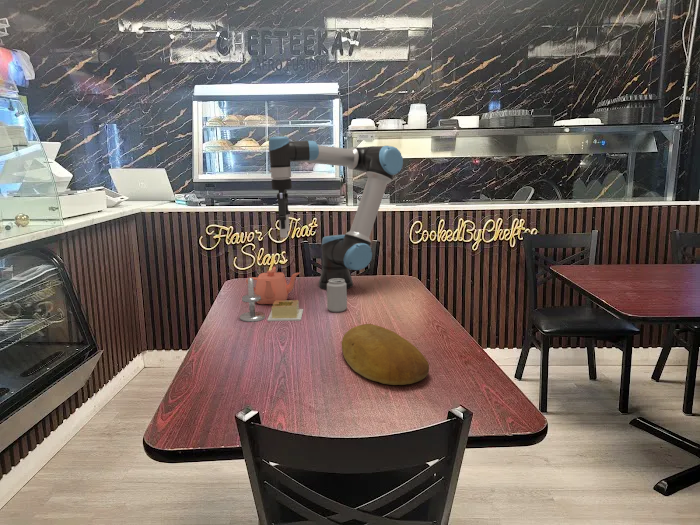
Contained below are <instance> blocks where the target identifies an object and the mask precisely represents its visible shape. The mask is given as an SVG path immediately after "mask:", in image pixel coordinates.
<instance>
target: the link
mask: <svg viewBox="0 0 700 525" xmlns="http://www.w3.org/2000/svg"><path fill="white" fill-rule="evenodd" d="M299 301H300V300H299V299H290V300H288V299H287V300H278V301H274V303H273V304H272V306H271V310H272V318H297V315H298V312H299V309H300V306H299V303H300V302H299Z"/></svg>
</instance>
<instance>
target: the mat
mask: <svg viewBox="0 0 700 525" xmlns="http://www.w3.org/2000/svg"><path fill="white" fill-rule="evenodd" d="M303 313H304V308H299V312H298V315H297V318H272V309H271V311H270V312H269V316H268V317H267V322H286V321H287V322H294V321H296V322H297V321H302V316H303Z"/></svg>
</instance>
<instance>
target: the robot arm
mask: <svg viewBox="0 0 700 525" xmlns="http://www.w3.org/2000/svg"><path fill="white" fill-rule="evenodd" d="M289 139H290V138H289V136H271V137H269V138H268V153H269V163H270V166H269V167H270V169H269V171H268V172H269V174H270V177H271V178H272V179H271V181H270V182H271V189H272V190H275V191H276V190H277V191H278V192H277V194H276V199H277V205H278V217H277V218H276V220H277V221H278V223H279V238H281V239H282V238H288V237H289V235H288V232H290V218H289V215H291V211H290V210H289V205H288V203H289V199H288V198H289V194H288V193H287V192H288V191H287V190H291V189H292V188H293V185H292V184H293V183H292V182H293V181H292V179H291V177H292V170H291V168H292V166H291V163H294V162H299V163H308V164H309V163H310V164H317V165H319V164H320V165H328V166H329V165H330V166H337V167H338V166H339V167H347V168H348V169H349V170H355V171H359V172H365V175H366V176H367V179H366V182H365V186H364V189H363V191H362V195H361V198H360V201H359V203H358V205H357V206H358V207H357V209H356V212H355V215H354V218H353V220H352V224H351V227H350V230H349V231H347V232H346V233H345V234H335V235H326V236H323V237H322V239H321V258H322V260H321V261H322V262H321V263H322V264H321V265H322V270H321V273H320V276H319V280H318V281H319V282H318V287H319V288H320V289H322V290H327V283H328V282H329V281H328V280H329V279H333V278H341V279H344V280H345V281H344V282H345V283H346V285H347V290H348V289H350V288H352V287H354V286H353V284H354V283H353V282H354V281H353V278H352V275H351V273H350V270H351V271H352V270H354V271H360V270H363V269H365V268H366V267H368V266H369V264H370V263H371V262H372V257H373V252H372V247H371V244H372V240H371V238H370V236H371V234H372V230H373V227H374V224H375V221H376V218H377V215H378V213H379V209H380V207H381V203H382V200H383V198H384V194H385V191H386V189H387V185H388V184H390V183H392V182H393V179H394V177H395V175H398V174H399V173H400V172H401V170H402V168H403V166H404V158H403V156H402V152H401V151H400V150H399V149H398V148H397V147H395V146H391V145H380V146H379V145H378V146H376V145H375V146H373V145H372V146H363V147H361V146H360V147H356V146H351V147H349V148H346V147H336V146H335V147H334V146H326V145H319V144H318V142H317V141H315V140H298V141H297V140H295V141H294V140H293V141H290V140H289Z"/></svg>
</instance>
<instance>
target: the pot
mask: <svg viewBox="0 0 700 525" xmlns="http://www.w3.org/2000/svg"><path fill="white" fill-rule="evenodd" d="M300 274H301V272H294V273H293V274H292V275H291V276H290V281H289V283H287V279H286V275H285V274H284V272H282V271H281V272H280V271H278V272H277V268H276V266H272V268H271V270H267V271H266V272H261V273H260V274H259V275H258V276H257V277H254V276H252V277H247V278H246V279H245V283H246V284H247V285H248V278H253V281H256V284H255V287H254V294H255V295H260V296H261V300H260V301H257V302H256V303H257V304H258V305H273V303H274V301H278V300H288V296H289V293H291V292H292V291H293V290H294V286H295V280H296V278H297V276H298V275H300Z"/></svg>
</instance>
